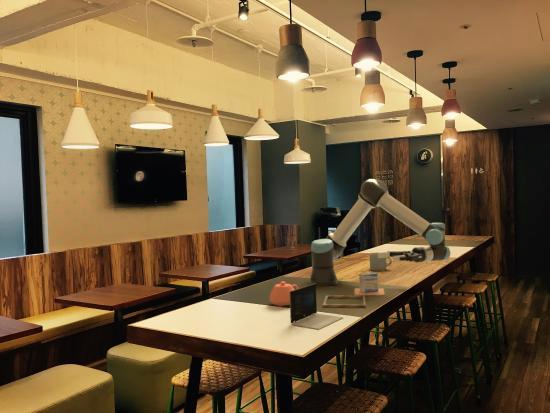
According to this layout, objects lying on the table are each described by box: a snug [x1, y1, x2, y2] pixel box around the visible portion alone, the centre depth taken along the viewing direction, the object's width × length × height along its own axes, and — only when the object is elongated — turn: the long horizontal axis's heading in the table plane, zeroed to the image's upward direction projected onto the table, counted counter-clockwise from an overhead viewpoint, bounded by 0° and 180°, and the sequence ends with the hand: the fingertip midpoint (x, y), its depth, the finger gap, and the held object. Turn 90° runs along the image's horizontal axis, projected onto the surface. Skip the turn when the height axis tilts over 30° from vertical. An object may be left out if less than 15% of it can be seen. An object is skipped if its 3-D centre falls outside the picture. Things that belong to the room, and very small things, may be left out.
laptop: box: [289, 283, 344, 330], centre depth 175 cm, size 18×12×13 cm
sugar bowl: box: [269, 281, 299, 308], centre depth 204 cm, size 12×14×10 cm
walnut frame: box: [322, 295, 367, 308], centre depth 203 cm, size 18×18×1 cm
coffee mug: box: [369, 251, 393, 272], centre depth 285 cm, size 13×10×10 cm
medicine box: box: [358, 272, 379, 293], centre depth 222 cm, size 8×4×9 cm, turn 110°
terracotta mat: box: [353, 287, 386, 296], centre depth 222 cm, size 14×14×1 cm
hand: (385, 257), depth 226 cm, fingers open, 13 cm apart
